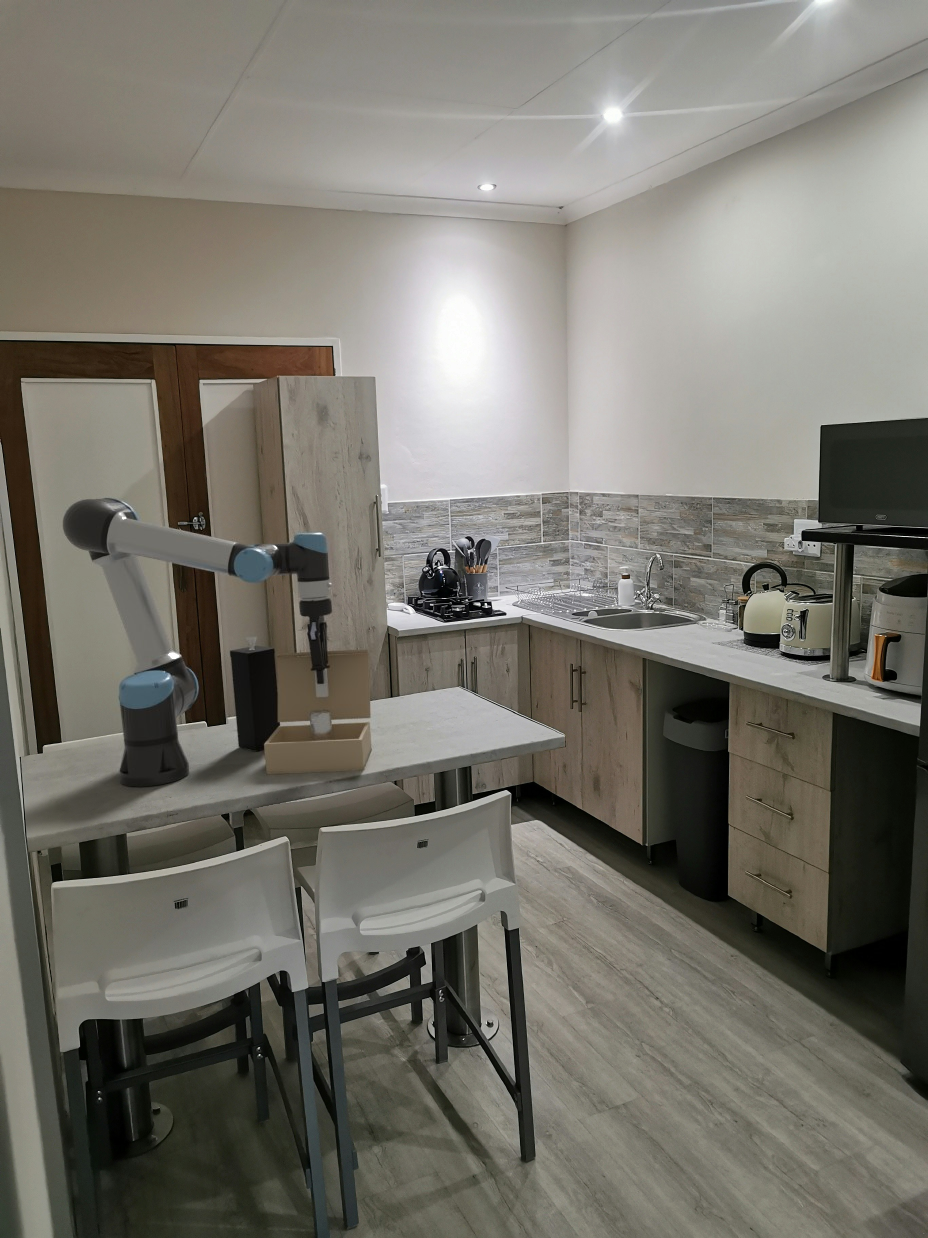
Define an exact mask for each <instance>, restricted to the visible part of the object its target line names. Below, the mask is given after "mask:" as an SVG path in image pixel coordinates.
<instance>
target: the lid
mask: <svg viewBox="0 0 928 1238" xmlns="http://www.w3.org/2000/svg"><path fill="white" fill-rule="evenodd" d="M327 653H328V664H327V665H330V668H325V669H327V679H328V692H329V696H328V697H316V684H315V672H314V671H311V668H312V661H311V654H310V651H306V652H304V651H303V652H288V653H287V652H285V653H284V652H283V653H275V656H276V657H277V691H278V722H280V723H291V722H292V723H293V722H294V723H295V722H310V714H309V713H310V712H311V711H315V710H330V711H331V721H336V720H338V721H339V720H355V719H356V720H358V719H359V720H362V719H371V718H372V716H371V684H370V683H371V682H370V678H371V677H370V675H371V673H370V650H369V649H368V648H367V649H366V648H365V649H349V650H348V649H347V650H346V649H345V650H329V651H328V650H327Z"/></svg>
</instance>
